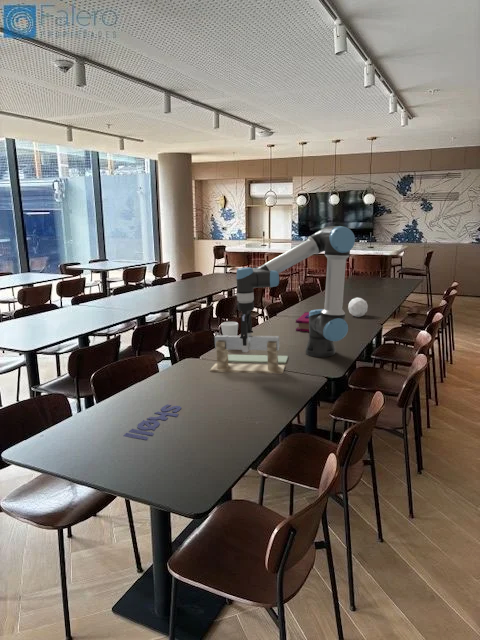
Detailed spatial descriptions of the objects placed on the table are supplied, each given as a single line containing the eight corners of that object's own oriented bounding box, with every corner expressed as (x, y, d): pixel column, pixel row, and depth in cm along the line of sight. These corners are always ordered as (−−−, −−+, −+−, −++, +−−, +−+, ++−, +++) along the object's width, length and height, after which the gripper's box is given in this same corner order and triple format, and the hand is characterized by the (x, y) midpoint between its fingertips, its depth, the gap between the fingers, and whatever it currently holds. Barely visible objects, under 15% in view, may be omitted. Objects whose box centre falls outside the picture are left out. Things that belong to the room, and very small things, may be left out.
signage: (166, 403, 184) (188, 407, 180) (166, 405, 184) (188, 408, 181) (121, 434, 159) (146, 439, 155) (121, 436, 159) (146, 441, 155)
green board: (288, 357, 241) (287, 355, 240) (286, 363, 231) (286, 361, 231) (222, 355, 247) (222, 354, 247) (218, 361, 238) (218, 360, 238)
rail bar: (279, 348, 220) (279, 336, 219) (278, 350, 217) (278, 337, 216) (216, 347, 226) (216, 335, 225) (215, 349, 223) (214, 336, 222)
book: (336, 323, 314) (336, 312, 312) (328, 333, 288) (328, 321, 286) (305, 322, 321) (305, 311, 319) (295, 331, 296) (295, 319, 294)
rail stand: (284, 367, 225) (284, 338, 222) (282, 373, 216) (282, 344, 213) (215, 365, 232) (214, 337, 229) (210, 371, 222) (208, 342, 219)
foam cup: (236, 348, 260) (235, 325, 257) (220, 348, 262) (219, 325, 259) (240, 344, 269) (239, 321, 266) (224, 343, 271) (223, 321, 268)
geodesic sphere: (343, 306, 340) (347, 292, 330) (362, 305, 341) (366, 291, 331) (348, 321, 331) (353, 308, 320) (367, 320, 332) (372, 306, 322)
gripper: (241, 297, 228) (243, 343, 233) (232, 305, 208) (234, 355, 212) (257, 297, 227) (258, 343, 231) (249, 305, 206) (251, 355, 211)
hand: (247, 349), depth 222 cm, fingers open, 9 cm apart
